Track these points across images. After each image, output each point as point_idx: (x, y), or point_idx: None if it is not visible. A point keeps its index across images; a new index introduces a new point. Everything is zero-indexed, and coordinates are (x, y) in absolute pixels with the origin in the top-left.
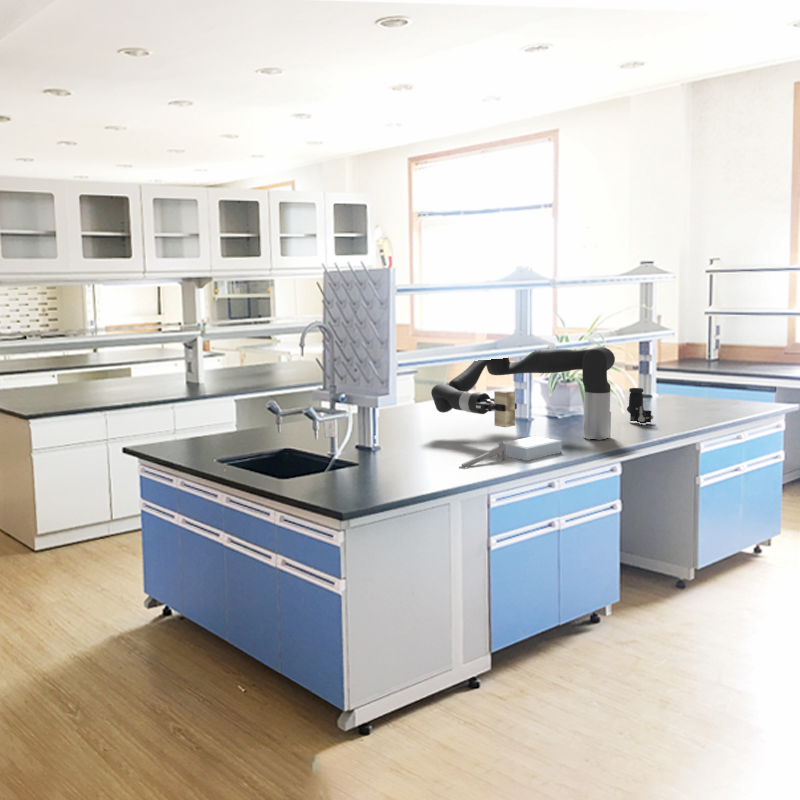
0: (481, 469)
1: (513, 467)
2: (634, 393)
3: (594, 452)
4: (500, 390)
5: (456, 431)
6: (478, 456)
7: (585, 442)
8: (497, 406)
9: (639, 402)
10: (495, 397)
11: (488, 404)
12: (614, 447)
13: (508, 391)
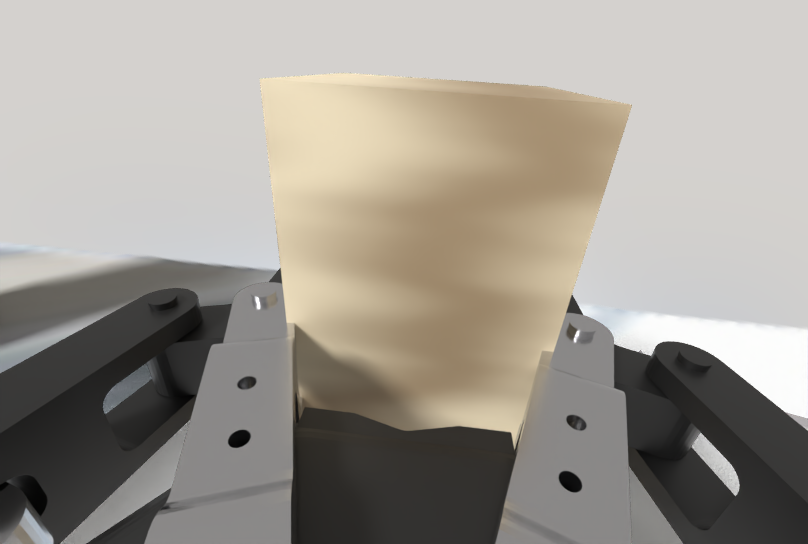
0: (789, 394)
1: (636, 340)
2: None
3: (262, 278)
4: (411, 88)
5: None
6: (805, 426)
7: (51, 340)
8: (576, 310)
9: None
10: (576, 238)
11: (728, 369)
12: (155, 268)
13: (430, 80)
